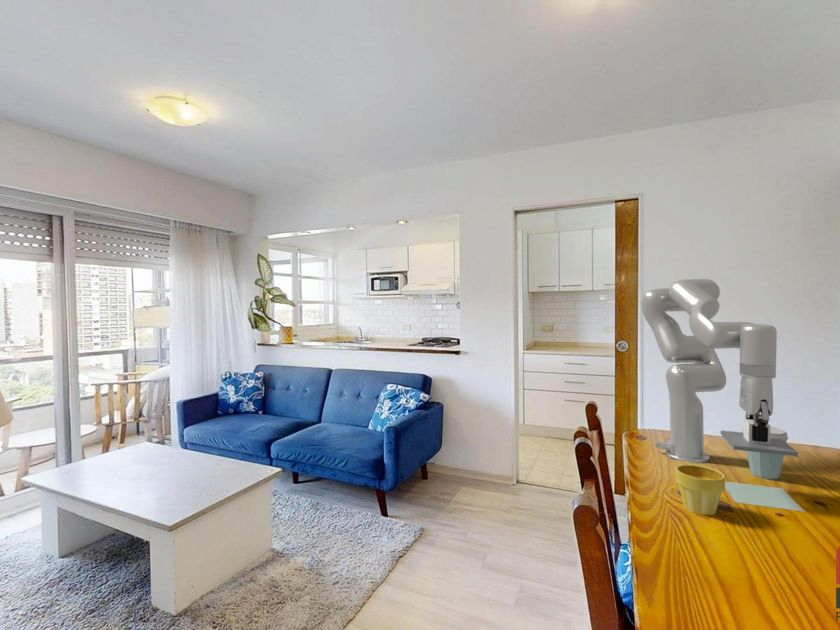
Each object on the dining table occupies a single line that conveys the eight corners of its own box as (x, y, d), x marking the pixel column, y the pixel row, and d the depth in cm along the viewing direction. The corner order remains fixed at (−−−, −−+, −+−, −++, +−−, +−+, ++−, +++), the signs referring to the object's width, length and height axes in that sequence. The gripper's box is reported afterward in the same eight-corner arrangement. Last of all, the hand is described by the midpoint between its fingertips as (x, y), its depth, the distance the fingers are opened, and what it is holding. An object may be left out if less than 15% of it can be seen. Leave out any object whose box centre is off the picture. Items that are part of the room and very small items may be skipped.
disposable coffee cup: (781, 472, 125) (780, 423, 125) (795, 487, 115) (795, 433, 115) (738, 467, 130) (737, 420, 130) (748, 481, 120) (747, 429, 120)
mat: (735, 503, 107) (735, 502, 107) (720, 482, 120) (720, 480, 120) (805, 513, 101) (804, 511, 101) (781, 489, 114) (781, 488, 114)
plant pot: (717, 503, 107) (716, 466, 107) (732, 523, 97) (732, 482, 97) (671, 498, 110) (670, 462, 110) (682, 516, 101) (681, 477, 101)
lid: (734, 449, 108) (734, 426, 107) (720, 433, 120) (720, 413, 119) (797, 456, 102) (798, 432, 102) (777, 439, 114) (777, 417, 114)
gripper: (731, 364, 119) (730, 427, 120) (750, 375, 104) (749, 447, 105) (763, 366, 116) (762, 429, 117) (788, 377, 101) (787, 450, 102)
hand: (756, 437), depth 111 cm, fingers closed on lid, 4 cm apart
